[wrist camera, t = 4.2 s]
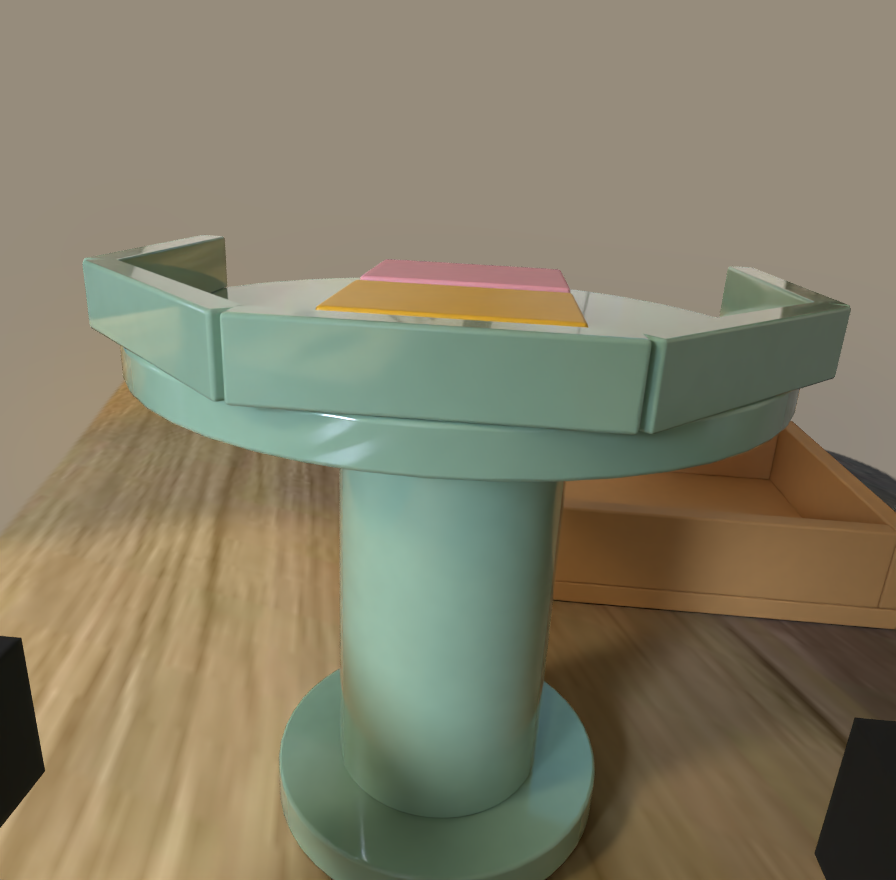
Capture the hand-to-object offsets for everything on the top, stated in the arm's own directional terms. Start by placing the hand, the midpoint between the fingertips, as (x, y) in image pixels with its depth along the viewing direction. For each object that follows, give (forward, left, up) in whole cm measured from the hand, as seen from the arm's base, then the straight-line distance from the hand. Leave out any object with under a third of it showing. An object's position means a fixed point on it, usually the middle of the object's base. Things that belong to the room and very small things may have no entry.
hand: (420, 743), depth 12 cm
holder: (+6, +21, -6) cm, 22 cm away
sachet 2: (0, +4, +6) cm, 7 cm away
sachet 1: (0, +8, +6) cm, 10 cm away
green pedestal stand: (0, +6, -6) cm, 8 cm away
